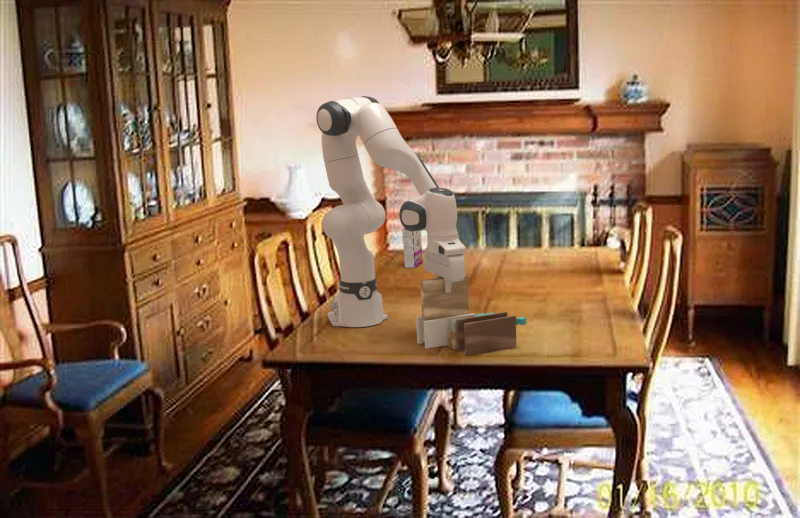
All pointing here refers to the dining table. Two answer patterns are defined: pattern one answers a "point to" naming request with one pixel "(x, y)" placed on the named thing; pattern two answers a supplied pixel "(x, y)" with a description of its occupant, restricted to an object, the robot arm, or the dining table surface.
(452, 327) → the offcut
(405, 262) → the candy bar box
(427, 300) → the sheet
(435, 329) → the holder
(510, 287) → the dining table surface
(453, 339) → the offcut
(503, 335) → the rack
